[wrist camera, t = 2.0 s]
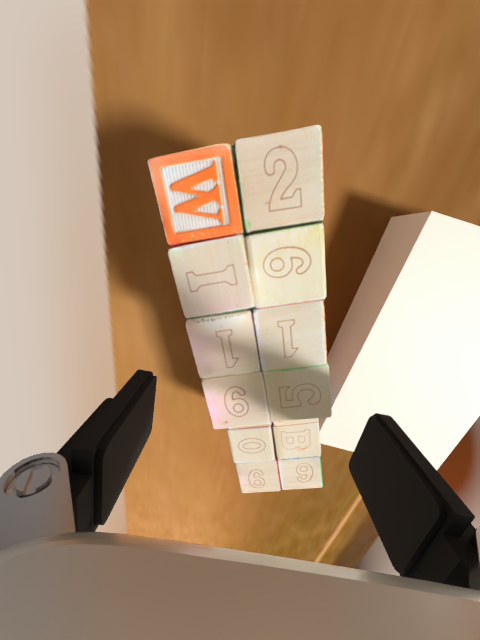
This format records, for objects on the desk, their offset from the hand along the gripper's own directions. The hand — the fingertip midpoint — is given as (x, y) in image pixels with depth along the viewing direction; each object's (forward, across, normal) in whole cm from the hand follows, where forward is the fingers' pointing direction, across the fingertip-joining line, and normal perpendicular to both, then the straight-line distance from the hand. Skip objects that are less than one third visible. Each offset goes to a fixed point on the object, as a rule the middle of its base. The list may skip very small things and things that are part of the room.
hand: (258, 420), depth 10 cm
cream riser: (+14, -14, -1) cm, 20 cm away
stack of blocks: (+14, -1, 0) cm, 14 cm away
